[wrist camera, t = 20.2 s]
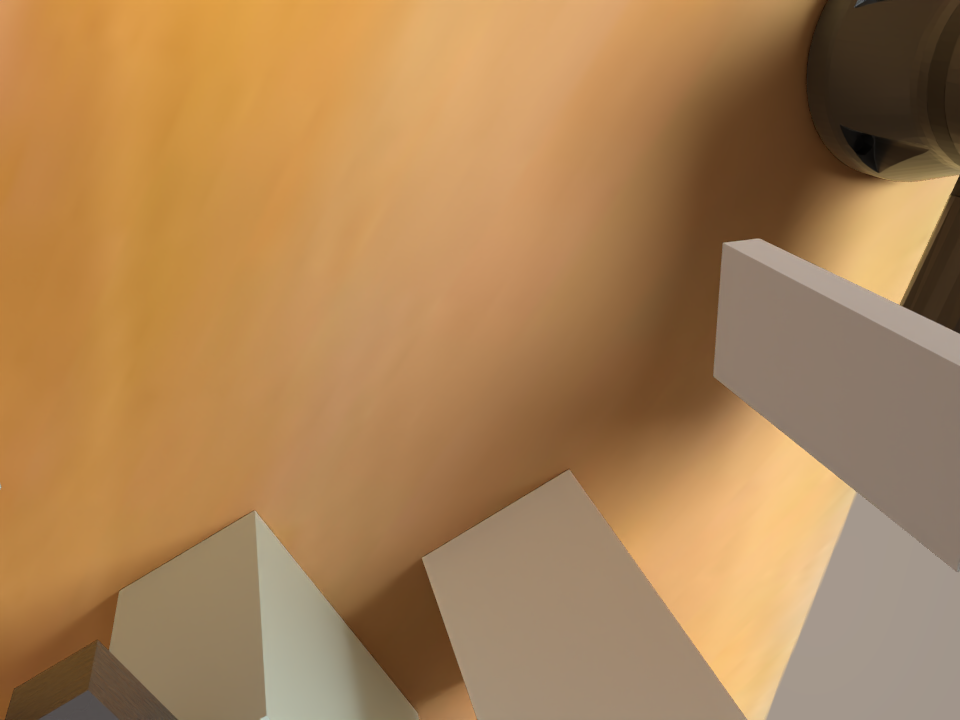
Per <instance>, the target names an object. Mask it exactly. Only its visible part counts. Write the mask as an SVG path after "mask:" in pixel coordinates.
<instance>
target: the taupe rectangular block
mask: <svg viewBox="0 0 960 720" xmlns="http://www.w3.org/2000/svg"><path fill="white" fill-rule="evenodd" d="M422 560H423V563H424V566H425V569H426V572H427V575H428V578H429V581H430V583H431V586H432V589H433V592H434V595H435V598H436V601H437V604H438V607H439V610H440V613H441V615H442V618H443V621H444V624H445V627H446V630H447V633H448V636H449V639H450V642H451V645H452V647H453V650H454V653H455V656H456V659H457V662H458V665H459V668H460V671H461V674H462V677H463V679H464V682H465V685H466V688H467V691H468V694H469V697H470V700H471V703H472V706H473V709H474V711H475V714H476V717H477V720H747V719H746V717H745V716H744V714H743V713H742V712H741V710H740V709H739V707H738V706H737V705H736V703H735V702H734V700H733V699H732V698H731V696H730V695H729V693H728V692H727V691H726V689H725V688H724V686H723V685H722V683H721V682H720V681H719V679H718V678H717V676H716V675H715V674H714V672H713V671H712V669H711V668H710V667H709V665H708V664H707V662H706V661H705V660H704V658H703V657H702V655H701V654H700V653H699V651H698V650H697V648H696V647H695V645H694V644H693V643H692V641H691V640H690V638H689V637H688V636H687V634H686V633H685V631H684V630H683V629H682V627H681V626H680V624H679V623H678V622H677V620H676V619H675V617H674V616H673V614H672V613H671V612H670V610H669V609H668V607H667V606H666V605H665V603H664V602H663V600H662V599H661V598H660V596H659V595H658V593H657V592H656V591H655V589H654V588H653V586H652V585H651V584H650V582H649V581H648V579H647V578H646V576H645V575H644V574H643V572H642V571H641V569H640V568H639V567H638V565H637V564H636V562H635V561H634V560H633V558H632V557H631V555H630V554H629V553H628V551H627V550H626V548H625V547H624V546H623V544H622V543H621V541H620V540H619V538H618V537H617V536H616V534H615V533H614V531H613V530H612V529H611V527H610V526H609V524H608V523H607V522H606V520H605V519H604V517H603V516H602V515H601V513H600V512H599V510H598V509H597V507H596V506H595V505H594V503H593V502H592V500H591V499H590V498H589V496H588V495H587V493H586V492H585V491H584V489H583V488H582V486H581V485H580V484H579V482H578V481H577V479H576V478H575V477H574V475H573V474H572V472H571V471H570V469H569V470H567V471H565V472H564V473H562V474H560V475H559V476H557V477H555V478H554V479H552V480H550V481H549V482H547V483H545V484H544V485H542V486H540V487H539V488H537V489H535V490H534V491H532V492H530V493H529V494H527V495H525V496H524V497H522V498H520V499H519V500H517V501H515V502H514V503H512V504H510V505H509V506H507V507H505V508H504V509H502V510H500V511H499V512H497V513H495V514H494V515H492V516H490V517H489V518H487V519H485V520H484V521H482V522H480V523H479V524H477V525H476V526H474V527H472V528H471V529H469V530H467V531H466V532H464V533H462V534H461V535H459V536H457V537H456V538H454V539H452V540H451V541H449V542H447V543H446V544H444V545H442V546H441V547H439V548H437V549H436V550H434V551H432V552H431V553H429V554H427V555H426V556H424V557H422Z"/></svg>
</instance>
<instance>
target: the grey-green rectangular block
mask: <svg viewBox="0 0 960 720" xmlns="http://www.w3.org/2000/svg"><path fill="white" fill-rule="evenodd" d="M109 651H110V652H111V653H112V654H113V655H114V656H115V657H116V658H117V659H118V660H119V661H120V662H121V663H122V664H123V665H124V666H125V667H126V668H127V669H128V670H129V671H130V672H131V673H132V674H133V675H134V676H135V677H136V678H137V679H138V680H139V681H140V682H141V683H142V684H143V685H144V686H145V687H146V688H147V689H148V690H149V691H150V692H151V693H152V694H153V695H154V696H155V697H156V698H157V699H158V700H159V701H160V702H161V703H162V704H163V705H164V706H165V707H166V708H167V709H168V710H169V711H170V712H171V713H172V714H173V715H174V716H175V717H176V718H177V719H178V720H419V716H418V713H417V711H416V710H415V709H414V708H413V706H412V705H411V704H410V703H409V701H408V700H407V699H406V698H405V696H404V695H403V694H402V693H401V692H400V690H399V689H398V688H397V687H396V685H395V684H394V683H393V682H392V680H391V679H390V678H389V677H388V675H387V674H386V673H385V672H384V670H383V669H382V668H381V667H380V665H379V664H378V663H377V662H376V660H375V659H374V658H373V657H372V655H371V654H370V653H369V652H368V650H367V649H366V648H365V647H364V645H363V644H362V643H361V642H360V640H359V639H358V638H357V637H356V636H355V634H354V633H353V632H352V631H351V629H350V628H349V627H348V626H347V624H346V623H345V622H344V621H343V619H342V618H341V617H340V616H339V614H338V613H337V612H336V611H335V609H334V608H333V607H332V606H331V604H330V603H329V602H328V601H327V599H326V598H325V597H324V596H323V594H322V593H321V592H320V591H319V589H318V588H317V587H316V586H315V584H314V583H313V582H312V581H311V580H310V578H309V577H308V576H307V575H306V573H305V572H304V571H303V570H302V568H301V567H300V566H299V565H298V563H297V562H296V561H295V560H294V558H293V557H292V556H291V555H290V553H289V552H288V551H287V550H286V548H285V547H284V546H283V545H282V543H281V542H280V541H279V540H278V538H277V537H276V536H275V535H274V533H273V532H272V531H271V530H270V529H269V527H268V526H267V525H266V524H265V522H264V521H263V520H262V519H261V517H260V516H259V515H258V514H257V512H256V511H255V510H254V511H252V512H251V513H249V514H247V515H246V516H244V517H242V518H241V519H239V520H237V521H236V522H234V523H232V524H231V525H229V526H227V527H226V528H224V529H222V530H221V531H219V532H217V533H216V534H214V535H212V536H211V537H209V538H207V539H206V540H204V541H202V542H200V543H199V544H197V545H195V546H194V547H192V548H190V549H189V550H187V551H185V552H184V553H182V554H180V555H179V556H177V557H175V558H174V559H172V560H170V561H169V562H167V563H165V564H164V565H162V566H160V567H159V568H157V569H155V570H154V571H152V572H150V573H148V574H147V575H145V576H143V577H142V578H140V579H138V580H137V581H135V582H133V583H132V584H130V585H128V586H127V587H125V588H123V589H122V590H120V591H119V595H118V601H117V607H116V613H115V618H114V624H113V630H112V636H111V641H110V647H109Z"/></svg>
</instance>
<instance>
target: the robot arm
mask: <svg viewBox="0 0 960 720" xmlns="http://www.w3.org/2000/svg"><path fill="white" fill-rule="evenodd" d="M807 96H808V103H809V108H810V112H811V116H812V119H813V122H814V125H815V127H816V130H817V132H818V134H819V136H820V137H821V139H822V141H823V142H824V144H825V145H826V147H827V148H828V149H829V150H830V152H831V153H832V154H833V155H834V156H835V157H836V158H838V159H839V160H840V161H841V162H843V163H844V164H845V165H847V166H849V167H851V168H852V169H854V170H857V171H859V172H862V173H865V174H868V175H872V176H875V177H879V178H882V179H886V180H891V181H900V182H915V181H923V180H930V179H936V178H942V177H949V176H955V175H959V178H958V180H957V182H956V184H955V186H954V189H953V191H952V193H951V194H950V196H949V198H948V200H947V203H946V205H945V207H944V209H943V211H942V213H941V216H940V218H939V220H938V222H937V224H936V227H935V229H934V231H933V233H932V235H931V237H930V240H929V242H928V244H927V246H926V248H925V251H924V253H923V255H922V257H921V259H920V261H919V264H918V266H917V268H916V270H915V272H914V275H913V277H912V279H911V281H910V283H909V285H908V288H907V290H906V292H905V294H904V296H903V298H902V301H901V303H900V305H898V304H896V303H894V302H892V301H890V300H888V299H886V298H884V297H881V296H879V295H877V294H875V293H873V292H871V291H869V290H867V289H865V288H863V287H860V286H858V285H856V284H854V283H852V282H850V281H848V280H846V279H844V278H842V277H839V276H837V275H835V274H833V273H831V272H829V271H827V270H825V269H823V268H821V267H818V266H816V265H814V264H812V263H810V262H808V261H806V260H804V259H802V258H800V257H797V256H795V255H793V254H791V253H789V252H787V251H785V250H783V249H781V248H779V247H776V246H774V245H772V244H770V243H768V242H766V241H764V240H762V239H760V238H759V239H750V240H742V241H733V242H725V243H723V246H722V260H721V274H720V288H719V302H718V316H717V330H716V344H715V358H714V372H713V377H715V378H716V379H717V380H718V381H720V382H721V383H722V384H723V385H725V386H726V387H727V388H728V389H729V390H731V391H732V392H733V393H734V394H736V395H737V396H738V397H739V398H741V399H742V400H743V401H744V402H746V403H747V404H748V405H749V406H751V407H752V408H753V409H754V410H756V411H757V412H758V413H759V414H761V415H762V416H763V417H764V418H766V419H767V420H768V421H769V422H771V423H772V424H773V425H774V426H776V427H777V428H778V429H779V430H781V431H782V432H783V433H784V434H785V435H787V436H788V437H789V438H790V439H792V440H793V441H794V442H795V443H797V444H798V445H799V446H800V447H802V448H803V449H804V450H805V451H807V452H808V453H809V454H810V455H812V456H813V457H814V458H815V459H817V460H818V461H819V462H820V463H822V464H823V465H824V466H825V467H827V468H828V469H829V470H830V471H832V472H833V473H834V474H835V475H836V476H838V477H839V478H840V479H841V480H843V481H844V482H845V483H846V484H848V485H849V486H850V487H851V488H853V489H854V490H855V491H856V492H858V493H859V494H860V495H862V496H863V497H864V498H865V499H866V500H868V501H869V502H870V503H871V504H873V505H874V506H875V507H876V508H878V509H879V510H880V511H881V512H883V513H884V514H885V515H886V516H888V517H889V518H890V519H891V520H893V521H894V522H895V523H896V524H898V525H899V526H900V527H901V528H903V529H904V530H905V531H906V532H908V533H909V534H910V535H911V536H912V537H914V538H915V539H916V540H917V541H919V542H920V543H921V544H922V545H924V546H925V547H926V548H927V549H929V550H930V551H931V552H932V553H934V554H935V555H936V556H937V557H939V558H940V559H941V560H942V561H944V562H945V563H946V564H947V565H949V566H950V567H951V568H952V569H954V570H955V571H956V572H958V571H960V0H828V2H827V3H826V5H825V7H824V9H823V12H822V14H821V16H820V18H819V21H818V23H817V26H816V29H815V32H814V35H813V39H812V42H811V46H810V51H809V57H808V64H807ZM0 489H1V484H0Z"/></svg>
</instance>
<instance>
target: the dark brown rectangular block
mask: <svg viewBox="0 0 960 720" xmlns="http://www.w3.org/2000/svg"><path fill="white" fill-rule="evenodd" d="M5 720H178V719H177V718H176V717H175V716H174V715H173V714H172V713H171V712H170V711H169V710H168V709H167V708H166V707H165V706H164V705H163V704H162V703H161V702H160V701H159V700H158V699H157V698H156V697H155V696H154V695H153V694H152V693H151V692H150V691H149V690H148V689H147V688H146V687H145V686H144V685H143V684H142V683H141V682H140V681H139V680H138V679H137V678H136V677H135V676H134V675H133V674H132V673H131V672H130V671H129V670H128V669H127V668H126V667H125V666H124V665H123V664H122V663H121V662H120V661H119V660H118V659H117V658H116V657H115V656H114V655H113V654H112V653H111V652H110V651H109V650H108V649H107V648H106V647H105V646H104V645H103V644H102V643H101V642H100V641H99V640H96V641H95V642H93V643H91V644H89V645H88V646H86V647H84V648H83V649H81V650H79V651H78V652H76V653H74V654H73V655H71V656H69V657H67V658H66V659H64V660H62V661H61V662H59V663H57V664H56V665H54V666H52V667H51V668H49V669H47V670H45V671H44V672H42V673H40V674H39V675H37V676H35V677H34V678H32V679H30V680H28V681H27V682H25V683H23V684H22V685H20V686H18V687H17V688H15V689H14V691H13V694H12V698H11V701H10V704H9V708H8V711H7V715H6V718H5Z"/></svg>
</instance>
